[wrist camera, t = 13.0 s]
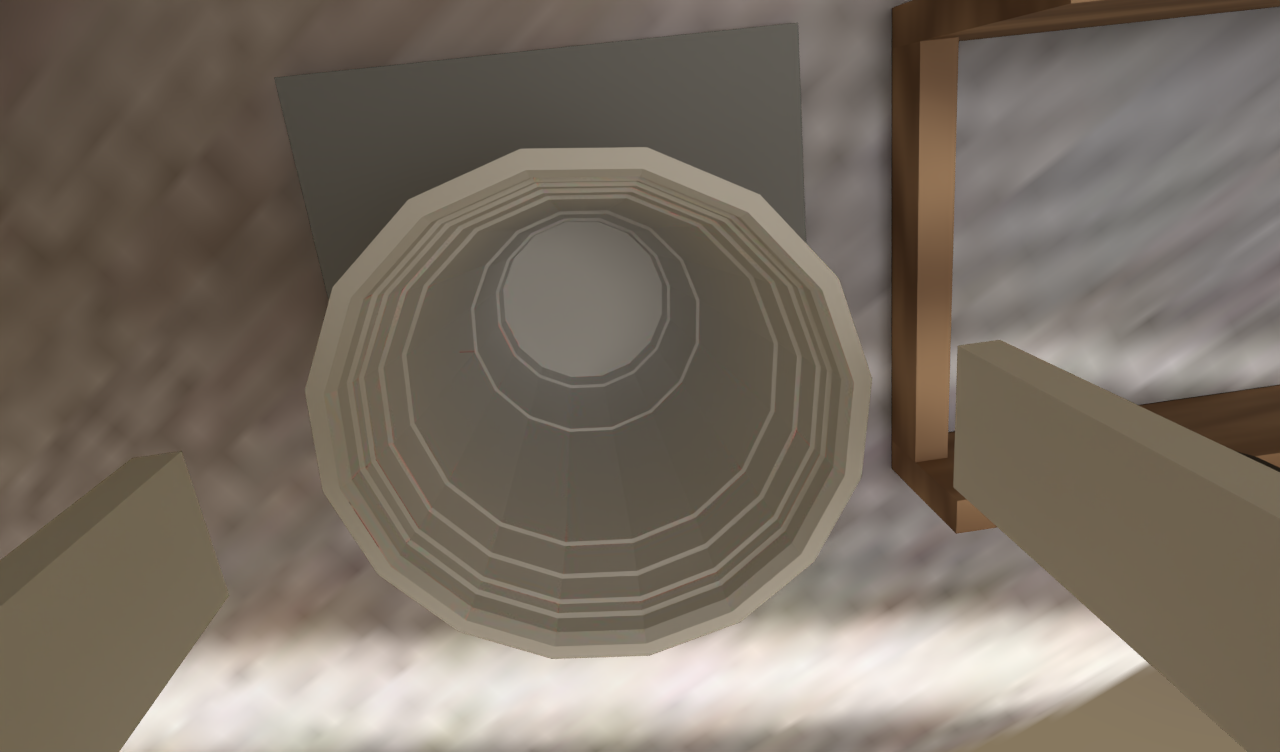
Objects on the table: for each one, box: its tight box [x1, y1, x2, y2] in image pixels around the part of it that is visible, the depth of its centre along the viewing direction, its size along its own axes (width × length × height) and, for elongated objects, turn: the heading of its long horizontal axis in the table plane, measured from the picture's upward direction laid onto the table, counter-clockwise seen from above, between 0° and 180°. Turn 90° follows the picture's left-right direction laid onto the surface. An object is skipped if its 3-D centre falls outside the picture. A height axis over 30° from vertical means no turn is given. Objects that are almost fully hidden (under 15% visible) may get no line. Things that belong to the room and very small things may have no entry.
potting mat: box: [274, 23, 806, 300], centre depth 26 cm, size 16×16×1 cm
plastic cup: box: [305, 147, 872, 659], centre depth 20 cm, size 11×11×12 cm
